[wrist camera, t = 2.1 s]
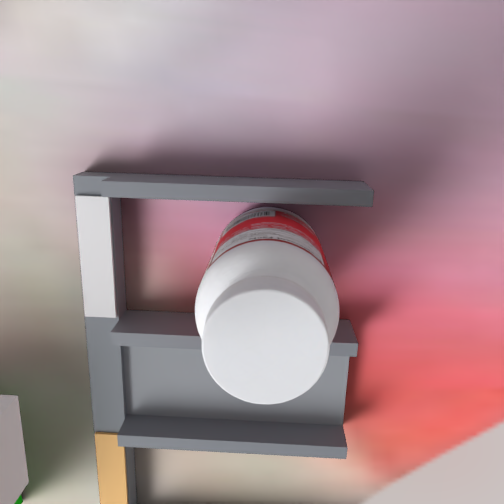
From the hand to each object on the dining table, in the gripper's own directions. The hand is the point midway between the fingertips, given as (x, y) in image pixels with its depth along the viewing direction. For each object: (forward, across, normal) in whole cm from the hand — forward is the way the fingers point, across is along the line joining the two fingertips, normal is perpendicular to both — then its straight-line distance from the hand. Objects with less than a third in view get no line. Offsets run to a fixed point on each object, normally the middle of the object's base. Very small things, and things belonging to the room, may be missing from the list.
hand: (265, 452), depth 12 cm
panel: (+16, -3, -7) cm, 18 cm away
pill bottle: (+16, 0, 0) cm, 16 cm away
